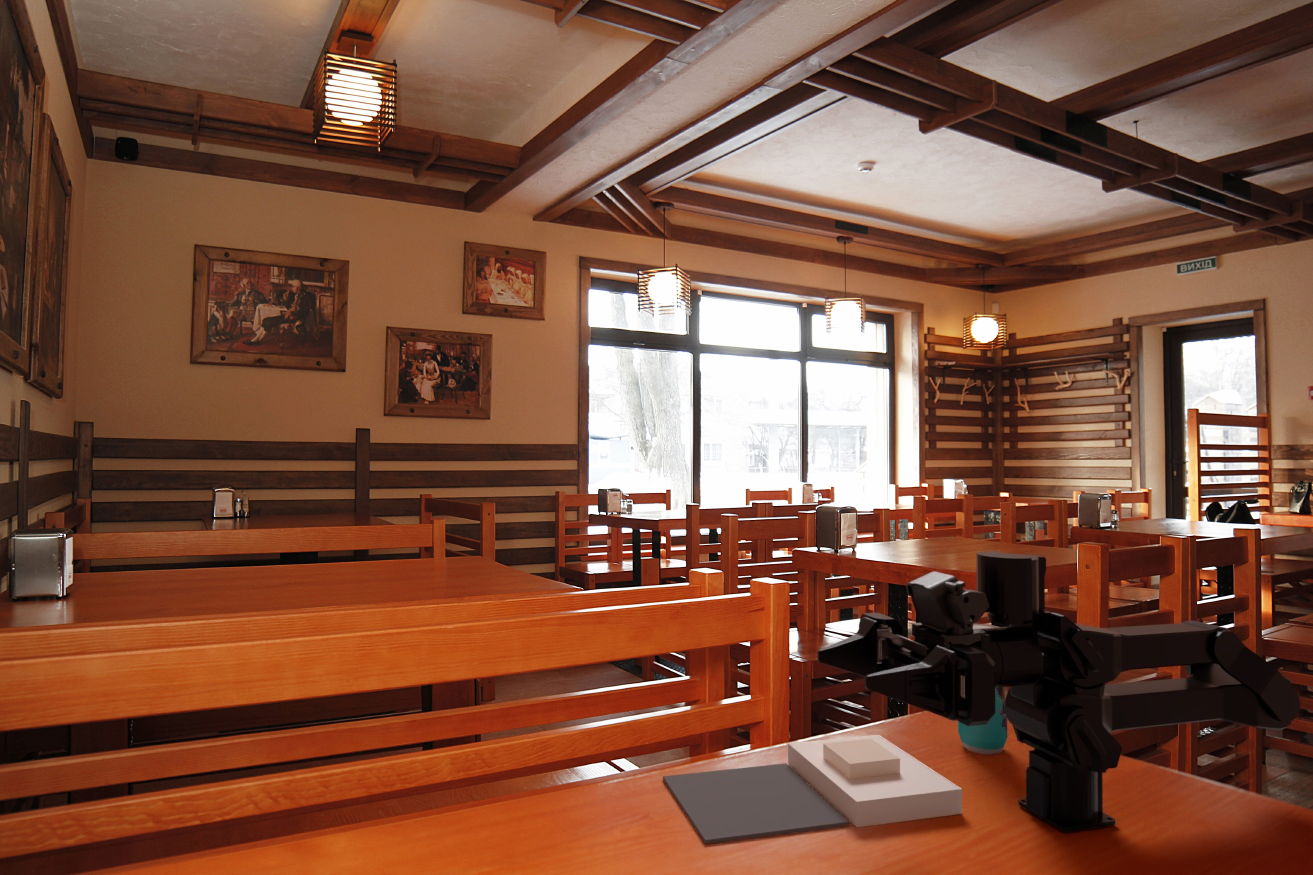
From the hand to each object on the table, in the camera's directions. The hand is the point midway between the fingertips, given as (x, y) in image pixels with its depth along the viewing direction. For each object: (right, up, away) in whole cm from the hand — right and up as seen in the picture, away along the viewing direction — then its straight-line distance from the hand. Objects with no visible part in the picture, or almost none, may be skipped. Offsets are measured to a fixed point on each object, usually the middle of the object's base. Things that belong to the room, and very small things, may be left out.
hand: (840, 668), depth 73 cm
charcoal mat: (-7, -17, +9) cm, 20 cm away
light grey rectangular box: (+6, -17, +13) cm, 22 cm away
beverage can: (+24, -18, +25) cm, 38 cm away
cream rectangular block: (+5, -14, +12) cm, 20 cm away
